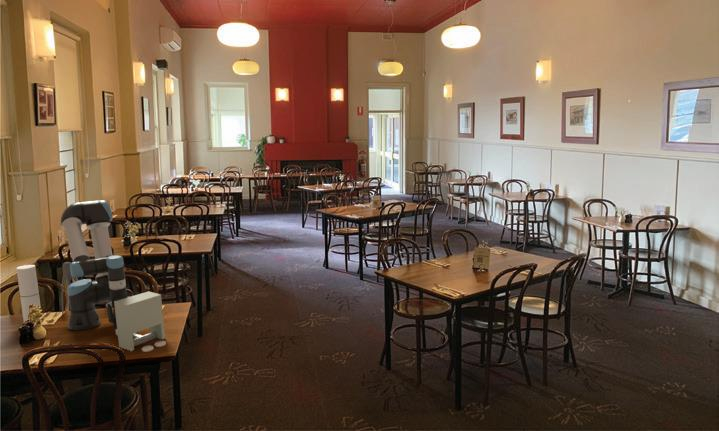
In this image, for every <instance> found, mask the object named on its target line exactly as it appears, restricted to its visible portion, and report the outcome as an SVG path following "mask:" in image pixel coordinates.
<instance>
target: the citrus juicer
mask: <svg viewBox="0 0 719 431" xmlns="http://www.w3.org/2000/svg"><path fill="white" fill-rule="evenodd" d="M70 263H71V262H70V261H66V262H63V263H62V268H61V269H62V273H63V274H62V280H61V290H60V291H61V298H60V299H61V301H60V302H61V314H64V315H65V313H64V285H65V280H66V282H67V287H68V286H69V285H70V284H71V283H72V282H71V281H72V279H73V280H74V282H76V281H78V278H77V277H72V275H71V271H70Z"/></svg>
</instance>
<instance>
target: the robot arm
mask: <svg viewBox="0 0 719 431" xmlns="http://www.w3.org/2000/svg"><path fill="white" fill-rule="evenodd" d="M112 221H113V213H112V208H111V206H110V204H109V202H108V201H106V200H101V199H100V200H99V199H98V200H89V201H82V202H74V203H72V204H70V205H68V206H67V207H66V208H65V209H64V210H63V212H62V214H61V216H60V226H61V229H62V230H63V231H64V232H65V236H66V238H67V239H66V240H67V243H68V248H69V251H70V255H71V259H72V262H70V271H71V275H72V277H76V278H80V277H81V278H82V277H87V276H93V275H96V276H95V278H94V279H95V280H94V281H93V280H92V279H91V278H86V279H85V278H84V279H79V280H77V281H76V282H75V281H74V282H71V283H70V285H69V286H68V285H67V296H68V305H69V317H68V321H67V328H68V329H69V330H70V331H84V330H85V331H86V330H90V329H93V328H95V327H98V326H99V325H100V324H101V318H100V316H99V314H98V312H97V310H96V304H97V305H98V304H101V303H105V304H104V306H105V307H106V311H107V318H108V323H110V324H113V325H112V326H113V330H115V335H118V332H117V323H116V314H115V305H114V301H118V300H121V299H125V298H128V297H131V296H128V294H127V287H126V286H127V284H126V274H125V262H124V257H123V256H122V255H113V250H112V244H111V238H110V232H109V227H110V225H111V222H112ZM83 225H86V228H87V229H88V230H90V235H91V240H92V241H91V242H92V248H93V254H94V258H90V254H89V251H88V248H87V243H86V240H85V236H84V233H83V230H82V226H83ZM107 302H108V303H107Z"/></svg>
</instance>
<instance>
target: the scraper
mask: <svg viewBox="0 0 719 431" xmlns="http://www.w3.org/2000/svg"><path fill="white" fill-rule="evenodd" d="M115 335H116V334H115ZM116 336H117V337H118V335H116ZM154 339H157V338H156V332H152V333H150V332H149V333H147V334H144V335H142V334H138V333H137V332H136V333H133V343H134V347H137V346H139V345H141V344H144V343H147V342H149V341H152V340H154Z"/></svg>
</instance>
